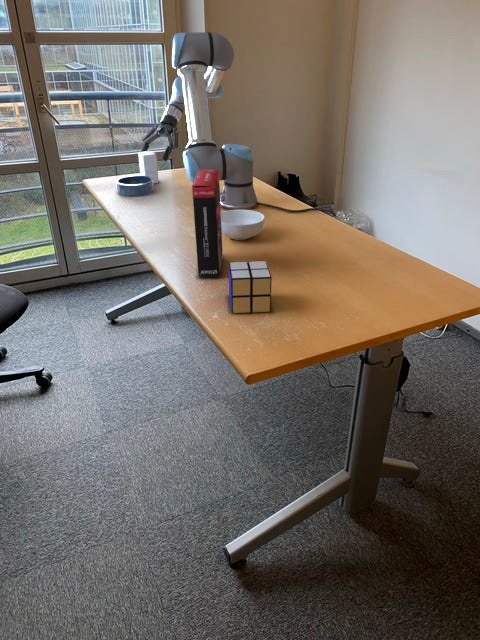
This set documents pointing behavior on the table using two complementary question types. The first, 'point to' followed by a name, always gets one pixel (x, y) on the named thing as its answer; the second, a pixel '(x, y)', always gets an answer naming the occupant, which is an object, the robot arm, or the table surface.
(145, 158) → the small box
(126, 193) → the bowl
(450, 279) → the table surface
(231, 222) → the cereal bowl
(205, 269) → the graphics card box
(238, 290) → the puzzle cube
